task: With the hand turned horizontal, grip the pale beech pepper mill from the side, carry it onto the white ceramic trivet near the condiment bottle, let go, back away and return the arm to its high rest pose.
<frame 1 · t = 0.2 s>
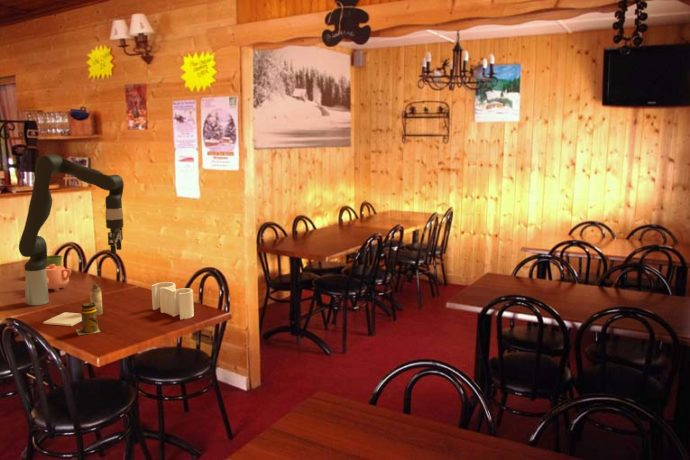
hand: (116, 251, 269), 28 cm above the table, tool pointing down, fingers open, 8 cm apart
trivet: (68, 319, 256), on the table
pepper mill: (97, 313, 265), on the table
condiment: (88, 331, 242), on the table
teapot: (51, 289, 305), on the table
cream triple cylinder: (174, 312, 268), on the table
plant pot: (52, 276, 333), on the table
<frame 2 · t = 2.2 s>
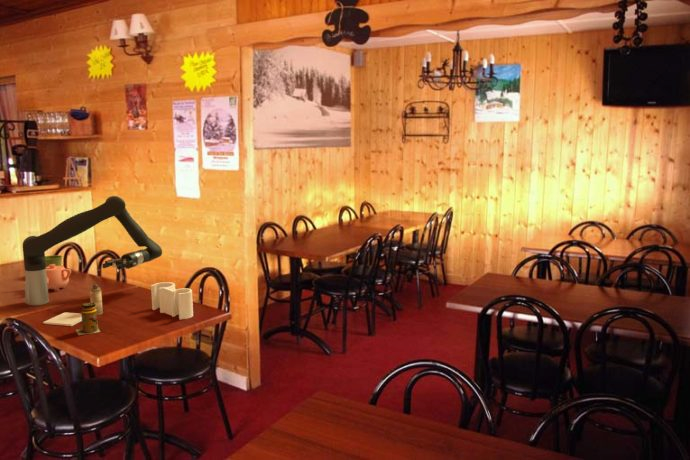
hand: (110, 266, 272), 20 cm above the table, tool horizontal, fingers open, 8 cm apart
nothing on the table moved.
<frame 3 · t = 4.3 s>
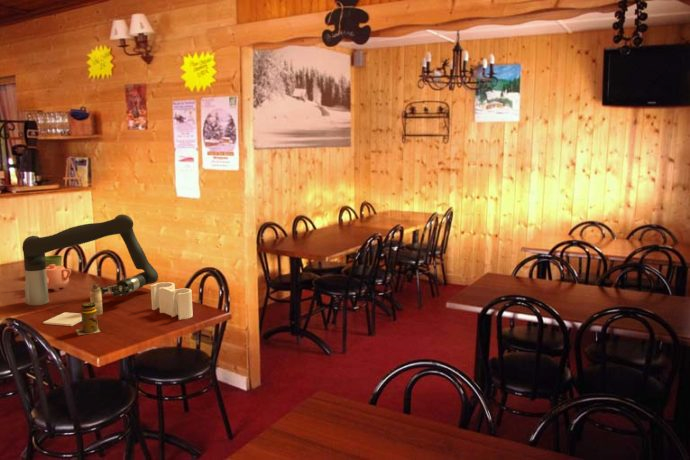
hand: (106, 293, 271), 7 cm above the table, tool horizontal, fingers open, 8 cm apart
nothing on the table moved.
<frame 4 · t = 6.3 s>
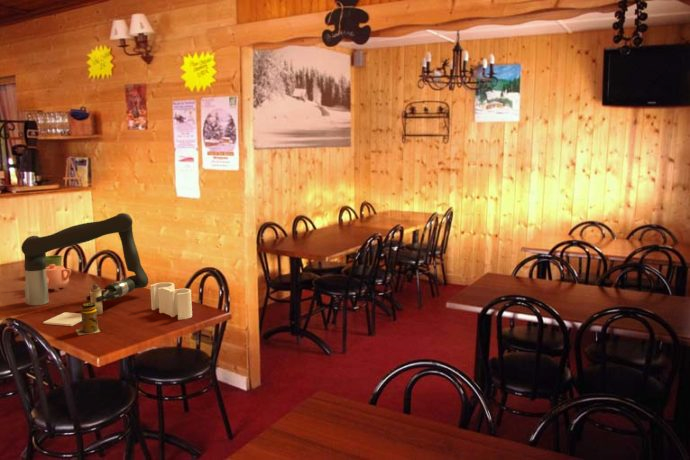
hand: (92, 299, 261), 8 cm above the table, tool horizontal, fingers closed on pepper mill, 4 cm apart
pepper mill: (97, 313, 265), on the table, touching gripper
everything else where it was.
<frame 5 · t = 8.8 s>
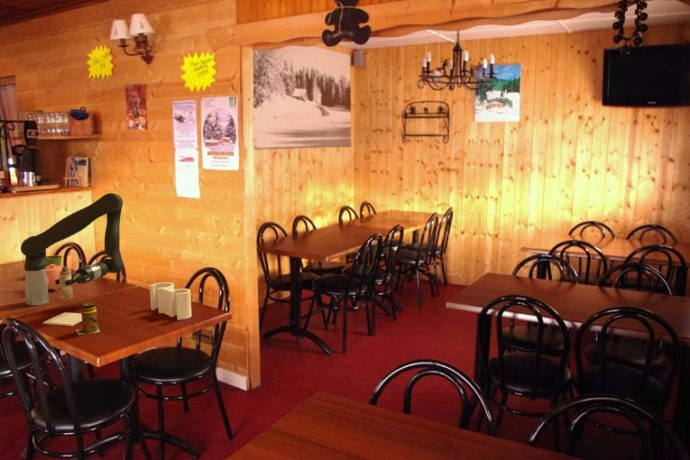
hand: (61, 282, 251), 18 cm above the table, tool horizontal, fingers closed on pepper mill, 4 cm apart
pepper mill: (66, 297, 254), point 10 cm above the table, touching gripper
everything else where it was.
when the fingers open (9 cm above the table, at t = 10.9 s): pepper mill stays where it is, resting on trivet.
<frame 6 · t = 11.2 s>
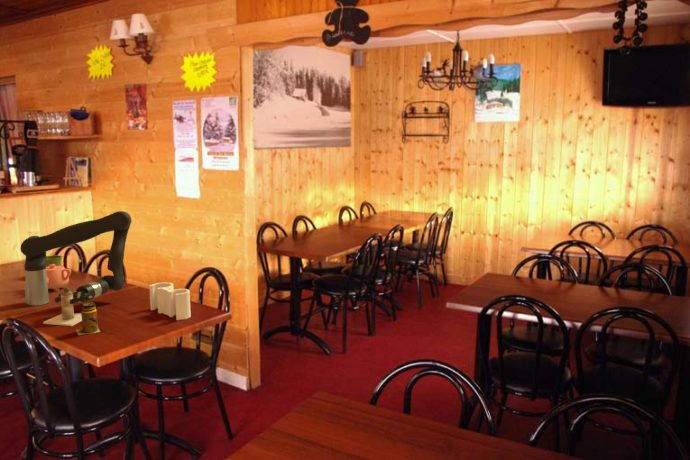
hand: (63, 301, 253), 9 cm above the table, tool horizontal, fingers open, 7 cm apart
pepper mill: (68, 317, 256), point 1 cm above the table, touching trivet
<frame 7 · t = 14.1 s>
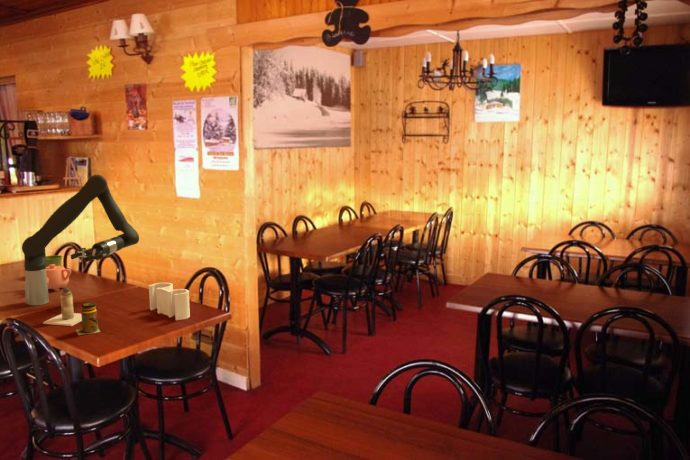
hand: (78, 258, 263), 26 cm above the table, tool horizontal, fingers open, 8 cm apart
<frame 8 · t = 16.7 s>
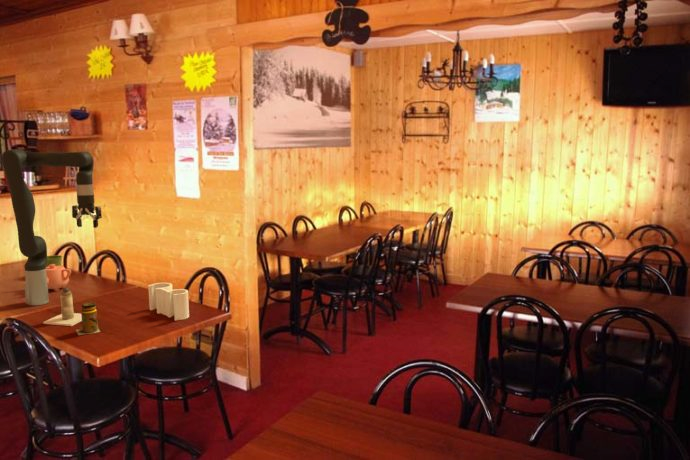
hand: (87, 227, 275), 38 cm above the table, tool pointing down, fingers open, 8 cm apart
at the end: pepper mill inside the target area on the trivet (0.1 cm from its centre), point 0.8 cm above the trivet's base; pepper mill tilted 0°; the gripper is holding nothing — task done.
